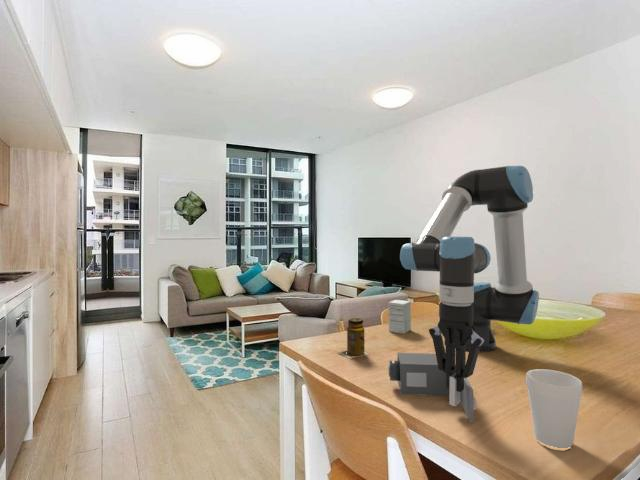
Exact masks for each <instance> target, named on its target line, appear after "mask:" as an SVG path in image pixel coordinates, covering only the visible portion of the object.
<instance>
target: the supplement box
mask: <svg viewBox="0 0 640 480" xmlns="http://www.w3.org/2000/svg"><path fill="white" fill-rule="evenodd" d="M411 313H412V312H411V301H410V300H402V299H401V300H400V299H394V300H391V301H389V302H388V332H391V333H395V334H396V333H397V334H403V335H405V334H406V333H408V332H409V331H411V330H412V328H411V327H412V326H411V325H412V321H411V320H412V319H411V317H412V316H411Z"/></svg>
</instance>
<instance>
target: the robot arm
mask: <svg viewBox="0 0 640 480" xmlns="http://www.w3.org/2000/svg"><path fill="white" fill-rule="evenodd" d="M532 182H533V181H532V178H531V174H530V172H529V170H528V169H527V168H526V167H525V166H523V165H506V166H497V167H490V168H483V169H482V168H481V169H474V170H470V171H468V172H466V173H464V174H461V175H460V176H459V177H457V178H455V180H454V181H452V182H451V183H450V184H449V185H448V186H447V187H446V189H444V191H443V193H442V196H441V201H440V204H439V205H438V207H437V208H436V209H435V211H434V213H433V215H432V216H431V218H430V219H429V221H428V223H427V224H426V226H425V227H424V229H423V230H422V232H421V233H420V235H419V237H418V239H417V240H416V241H415V242H410V243H409V242H408V243H405V244H403V245H402V246H401V248H400V253H399V261H400V263H401V265H402V267H403V268H404V269H405V270H410V271H416V272H420V271H421V272H439V290H438V291H439V292H438V293H439V297H438V298H439V301H440V302H439V304H438V305H439V306H438V317H439V321H437V322H438V323H437V326H434V327H432V328H430V329H428V333H429V335H430V337H431V340H432V342H433V348H434V352H435V353H434V354H436V358H437V363H438V368H439V370H441V371H444V372H445V373H446V386H447V388H449V389H450V393H449V396H448V397H449V399H448V400H449V403H448V404H449V405H451V406H453V407H456V406H457V405H458V404H460V403H461V400H460V392H461V391H463V390H464V378H467V379H468V378H470V377H471V376H473V374H474V371H475V367H476V363H477V361H478V357H479V353H480V352H481V353H483V352H484V353H485V352H492V351H495V350H496V349H497V341H496V337H495V334H494V332H493V329H492V324H491V321H497V322H505V323H512V324H516V325H532V324H534V322H535V320H536V316H537V313H538V308H539V301H540V300H539V299H540V296H539V295H540V294H539V293H540V292H539V291H537V290H534V288H533V284H532V283H531V282H530V281H528V277H527V276H528V275H527V261H526V259H527V258H526V246H525V229H524V214H523V213H524V212H525V211H526V210H527V209H528V206H529V205H528V204H529V203H531V202H532V201H533V199H534V192H533V191H534V188H533V183H532ZM481 205H482V206H483V205H485V206H486V208H487V209H486V210H487V212H488V213H490V214H491V215H492V219H493V231H494V242H495V252H496V255H495V256H496V262H497V264H496V265H497V276H498V278H497V279H498V281H497V282H496V283H495V284H494V287H493V286H492V285H491V283H490V282H475V274H479V273H481V272H483V271H484V270H485V269H487V268H488V267H489V265H490V263H491V259H492V258H491V253H490V251H489V250H488V248H487V247H486V246H484V245H483V244H480V243H477V242H475V239H474V238H473V237H471V236H452V234H453V233H454V231H455V229H456V228H457V225H458V223H459V221H460V220H461V218H462V216H463V215H464V213H465V212H466V211H468V210H469V209H470V208H471V207H472V206H481ZM443 338H444V339H443ZM466 351H468V355H467V353H466ZM466 355H467V357H466ZM455 364H456V366H455ZM454 373H455V374H454Z"/></svg>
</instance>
